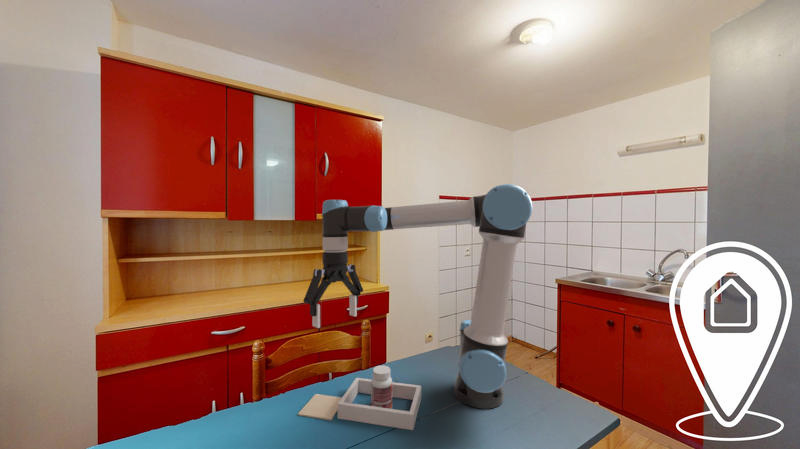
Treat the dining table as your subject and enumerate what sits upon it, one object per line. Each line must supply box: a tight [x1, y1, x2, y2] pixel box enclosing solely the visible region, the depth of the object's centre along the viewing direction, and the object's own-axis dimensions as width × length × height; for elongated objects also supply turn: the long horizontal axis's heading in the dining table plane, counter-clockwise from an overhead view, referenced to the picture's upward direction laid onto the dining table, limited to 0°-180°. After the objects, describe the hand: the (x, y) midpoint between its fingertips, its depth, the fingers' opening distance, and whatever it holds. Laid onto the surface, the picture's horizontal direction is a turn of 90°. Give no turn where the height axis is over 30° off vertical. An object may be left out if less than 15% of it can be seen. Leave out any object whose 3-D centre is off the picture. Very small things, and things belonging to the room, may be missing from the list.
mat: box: [297, 393, 342, 421], centre depth 87 cm, size 10×10×1 cm
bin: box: [337, 377, 422, 431], centre depth 87 cm, size 21×14×4 cm
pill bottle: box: [370, 365, 393, 409], centre depth 87 cm, size 6×6×11 cm
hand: (335, 321), depth 90 cm, fingers open, 13 cm apart
